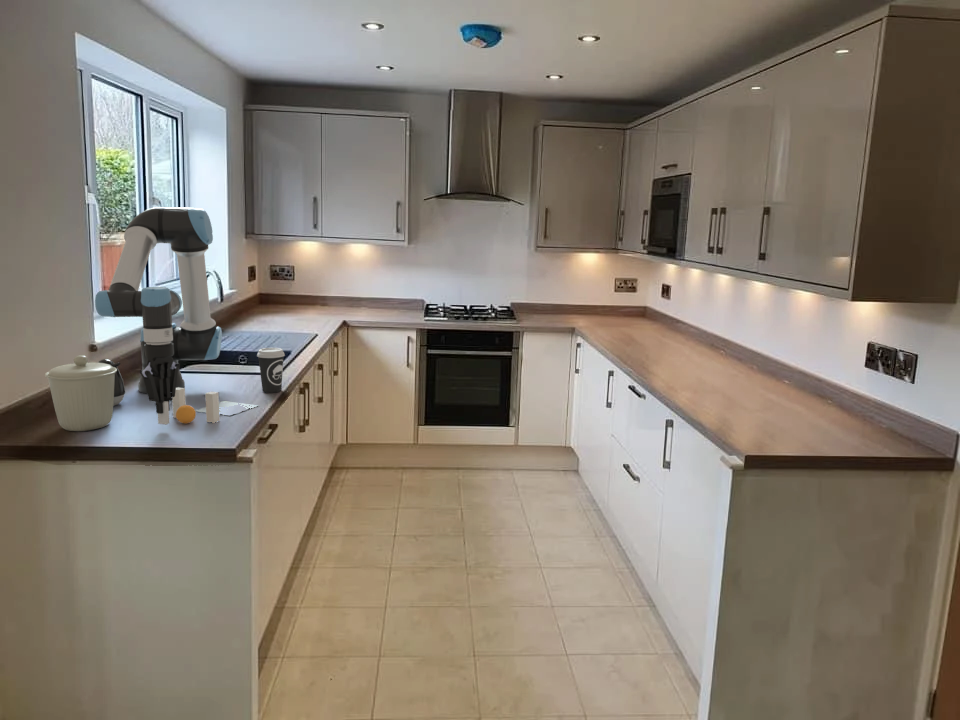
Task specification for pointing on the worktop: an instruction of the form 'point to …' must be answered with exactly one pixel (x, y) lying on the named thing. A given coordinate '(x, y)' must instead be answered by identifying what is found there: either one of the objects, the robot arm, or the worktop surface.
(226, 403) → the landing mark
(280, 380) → the coffee cup
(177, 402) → the post
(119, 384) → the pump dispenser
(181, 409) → the ball
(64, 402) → the canister
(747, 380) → the worktop surface
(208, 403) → the post
